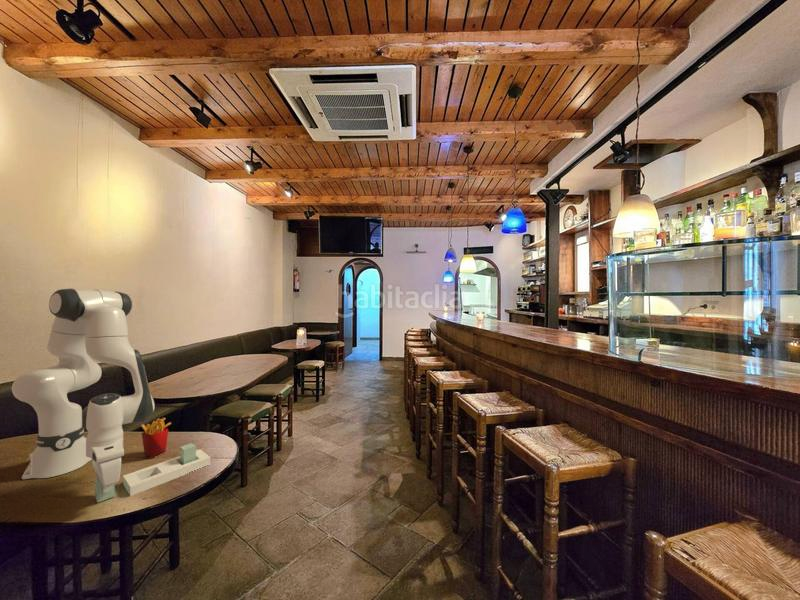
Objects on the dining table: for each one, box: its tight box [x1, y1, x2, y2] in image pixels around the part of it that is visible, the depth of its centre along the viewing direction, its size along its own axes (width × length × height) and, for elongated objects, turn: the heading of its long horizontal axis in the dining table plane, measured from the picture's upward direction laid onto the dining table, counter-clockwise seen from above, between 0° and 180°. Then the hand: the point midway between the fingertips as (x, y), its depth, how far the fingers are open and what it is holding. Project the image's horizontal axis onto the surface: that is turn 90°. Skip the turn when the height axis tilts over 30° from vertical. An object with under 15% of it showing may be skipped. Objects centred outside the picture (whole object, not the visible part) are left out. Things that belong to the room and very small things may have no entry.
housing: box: [122, 442, 211, 497], centre depth 114 cm, size 10×24×8 cm, turn 142°
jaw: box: [94, 472, 116, 504], centre depth 100 cm, size 4×4×8 cm
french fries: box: [140, 417, 172, 459], centre depth 128 cm, size 9×8×15 cm
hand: (105, 487), depth 100 cm, fingers closed on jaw, 4 cm apart
